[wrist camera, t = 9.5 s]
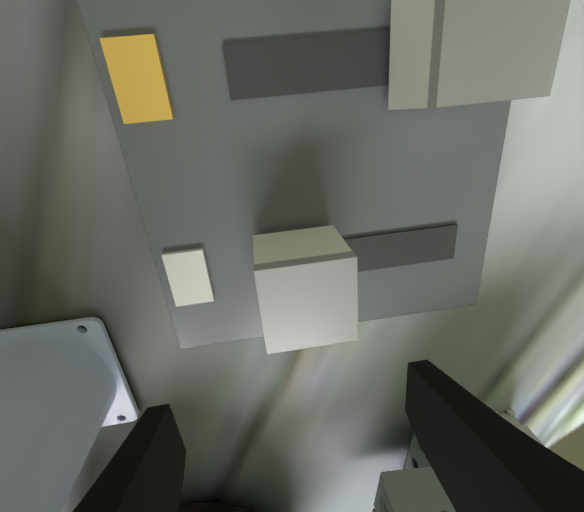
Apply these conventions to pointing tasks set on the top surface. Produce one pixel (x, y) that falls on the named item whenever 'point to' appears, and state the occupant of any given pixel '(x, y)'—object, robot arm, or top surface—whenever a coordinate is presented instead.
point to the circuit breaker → (420, 481)
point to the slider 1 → (306, 288)
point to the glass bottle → (209, 507)
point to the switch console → (290, 153)
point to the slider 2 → (472, 51)
